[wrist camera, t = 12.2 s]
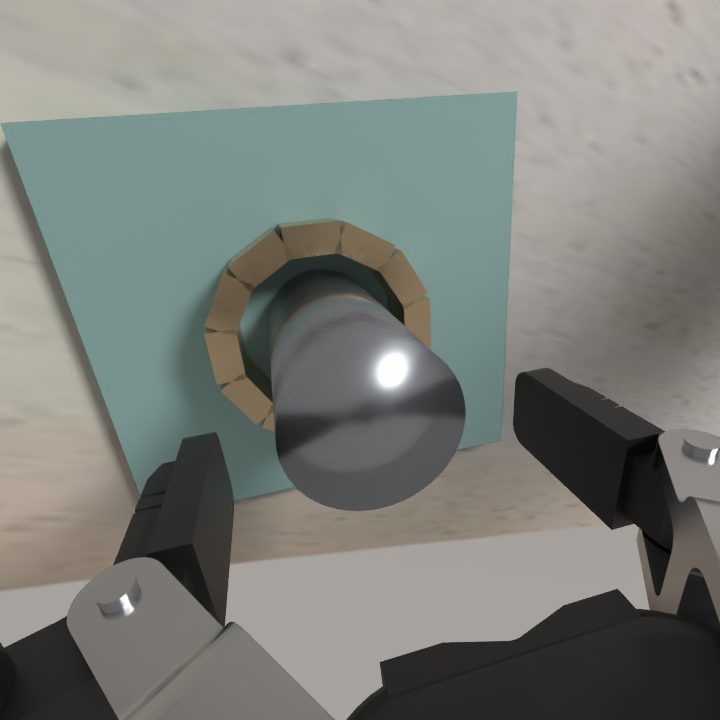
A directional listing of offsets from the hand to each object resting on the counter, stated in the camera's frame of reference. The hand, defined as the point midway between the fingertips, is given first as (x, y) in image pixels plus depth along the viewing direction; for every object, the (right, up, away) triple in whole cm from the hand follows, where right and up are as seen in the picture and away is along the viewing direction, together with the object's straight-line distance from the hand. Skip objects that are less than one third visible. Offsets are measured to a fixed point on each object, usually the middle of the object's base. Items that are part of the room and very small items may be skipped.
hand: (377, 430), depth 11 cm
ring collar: (-3, +4, +10) cm, 11 cm away
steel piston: (-2, +4, +9) cm, 10 cm away
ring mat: (-3, +4, +10) cm, 11 cm away
